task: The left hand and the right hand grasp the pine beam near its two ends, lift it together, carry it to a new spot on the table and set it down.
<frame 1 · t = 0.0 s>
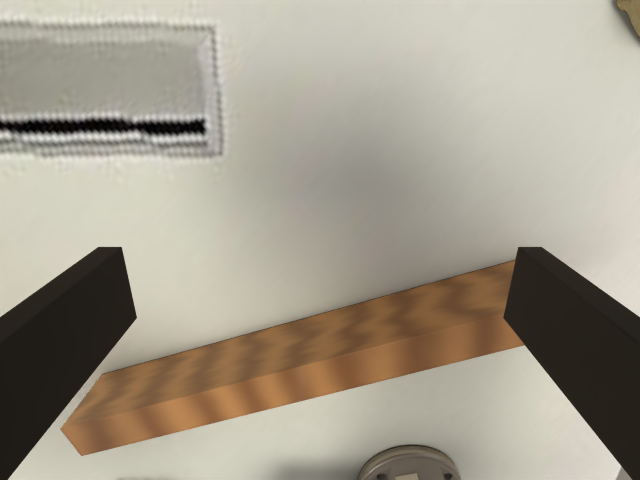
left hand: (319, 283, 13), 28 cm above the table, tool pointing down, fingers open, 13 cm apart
beam: (308, 332, 47), on the table
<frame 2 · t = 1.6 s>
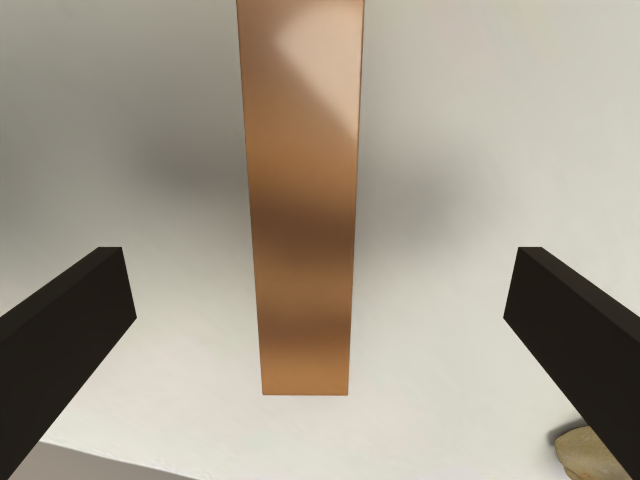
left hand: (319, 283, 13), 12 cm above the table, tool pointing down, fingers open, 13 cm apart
sculpture: (591, 431, 32), on the table
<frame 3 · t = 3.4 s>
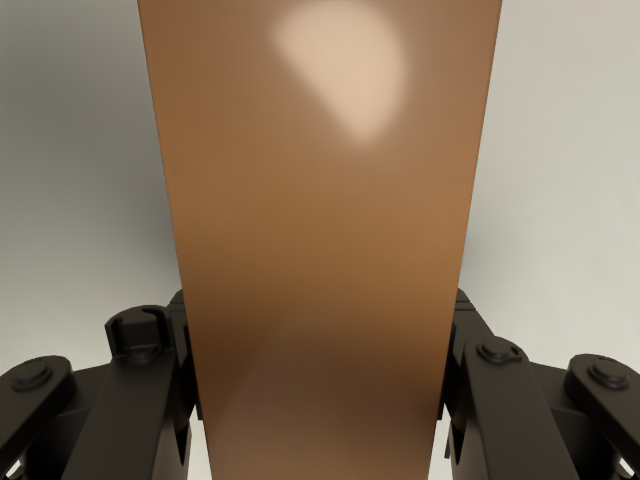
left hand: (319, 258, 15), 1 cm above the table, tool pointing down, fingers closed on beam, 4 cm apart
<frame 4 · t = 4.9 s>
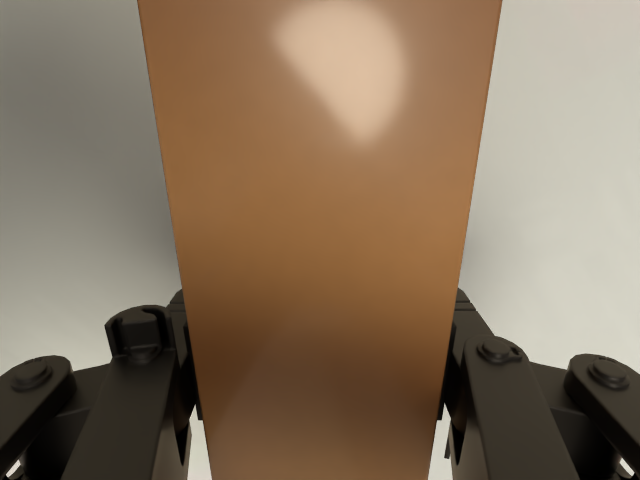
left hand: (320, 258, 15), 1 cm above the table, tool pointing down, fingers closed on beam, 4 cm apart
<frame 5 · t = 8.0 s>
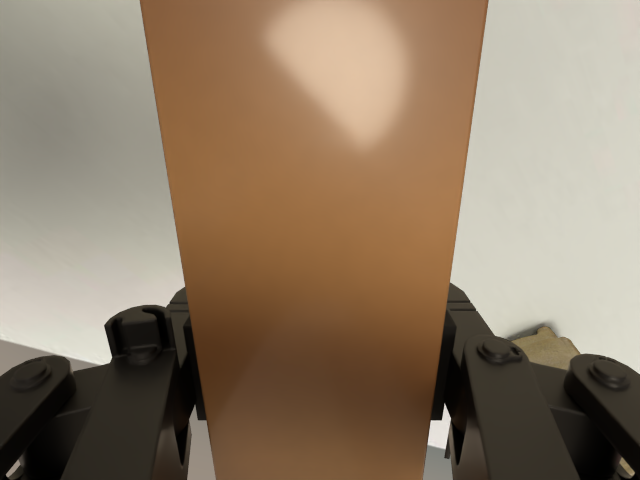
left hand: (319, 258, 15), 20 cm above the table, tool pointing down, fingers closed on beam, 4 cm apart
sculpture: (524, 345, 40), on the table
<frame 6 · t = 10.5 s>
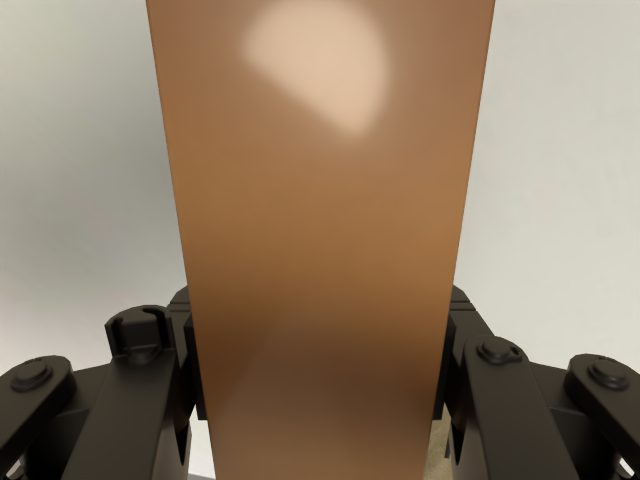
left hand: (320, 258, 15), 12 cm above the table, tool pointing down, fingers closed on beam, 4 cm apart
sculpture: (416, 388, 33), on the table
when the left hand's fingers open (2 cm above the table, at t = 12.6 s): beam stays where it is, on the table.
when the right hand's fingers open (4 cm above the table, at t = 12.6 s): beam stays where it is, on the table.
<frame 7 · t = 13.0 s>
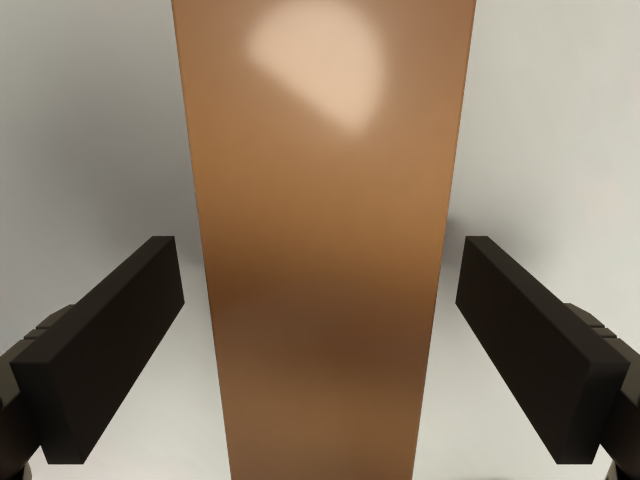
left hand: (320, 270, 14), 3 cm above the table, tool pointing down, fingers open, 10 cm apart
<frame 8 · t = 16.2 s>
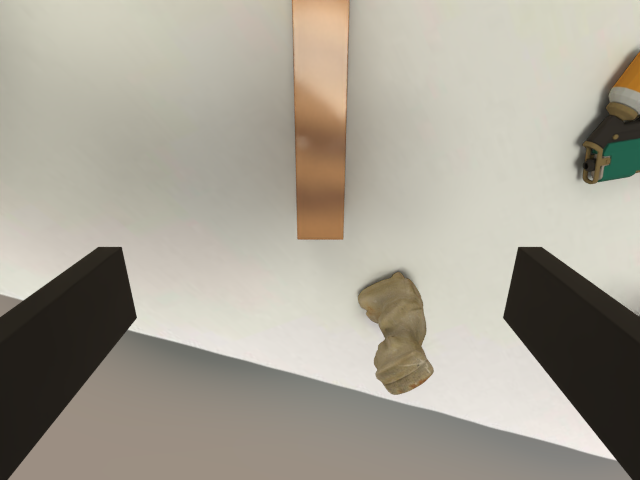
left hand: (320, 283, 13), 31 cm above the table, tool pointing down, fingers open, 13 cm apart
sculpture: (385, 289, 48), on the table
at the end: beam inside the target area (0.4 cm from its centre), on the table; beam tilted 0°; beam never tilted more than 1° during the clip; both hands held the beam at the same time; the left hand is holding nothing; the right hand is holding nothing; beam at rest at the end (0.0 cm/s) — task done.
